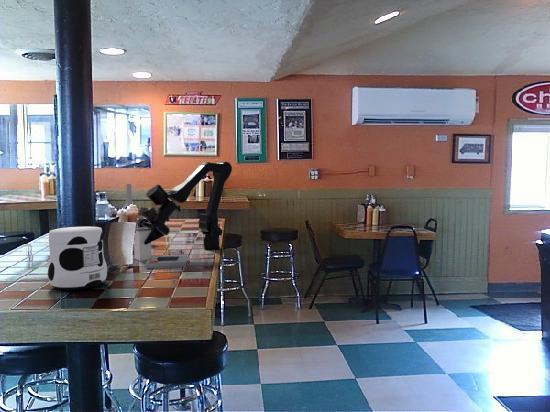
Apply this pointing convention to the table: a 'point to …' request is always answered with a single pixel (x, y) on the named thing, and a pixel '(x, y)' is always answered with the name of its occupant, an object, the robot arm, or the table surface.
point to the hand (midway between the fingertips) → (139, 242)
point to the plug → (142, 244)
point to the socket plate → (167, 261)
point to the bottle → (128, 196)
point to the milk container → (76, 258)
